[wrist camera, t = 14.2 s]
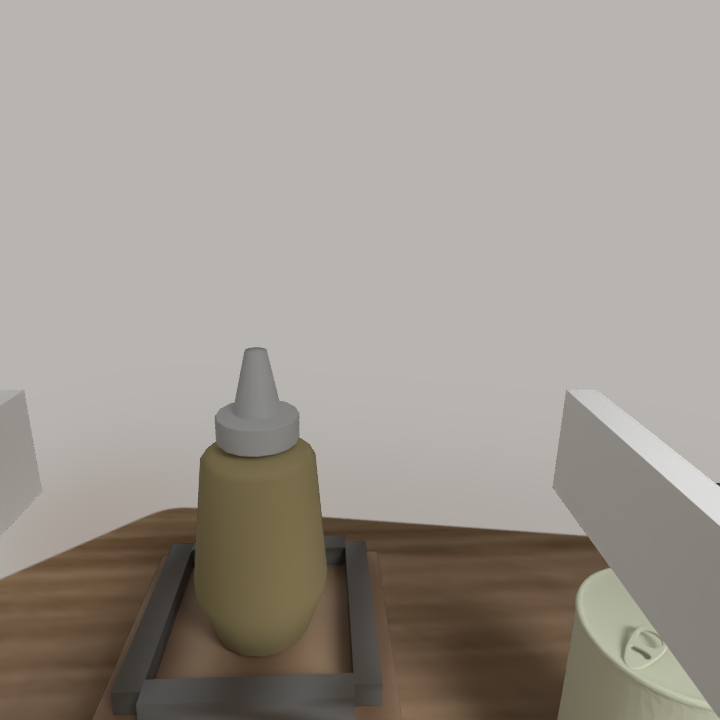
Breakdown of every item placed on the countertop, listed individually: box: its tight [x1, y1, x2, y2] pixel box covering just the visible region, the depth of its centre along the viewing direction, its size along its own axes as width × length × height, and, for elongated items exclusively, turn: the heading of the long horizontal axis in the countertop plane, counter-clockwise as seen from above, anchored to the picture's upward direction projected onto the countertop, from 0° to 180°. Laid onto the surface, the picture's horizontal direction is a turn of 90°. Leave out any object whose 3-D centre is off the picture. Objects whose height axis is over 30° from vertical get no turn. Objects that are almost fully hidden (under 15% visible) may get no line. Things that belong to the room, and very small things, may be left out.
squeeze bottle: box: [194, 347, 327, 657], centre depth 33 cm, size 8×8×18 cm
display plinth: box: [92, 535, 402, 720], centre depth 36 cm, size 16×14×6 cm
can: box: [557, 568, 720, 720], centre depth 29 cm, size 9×9×12 cm
